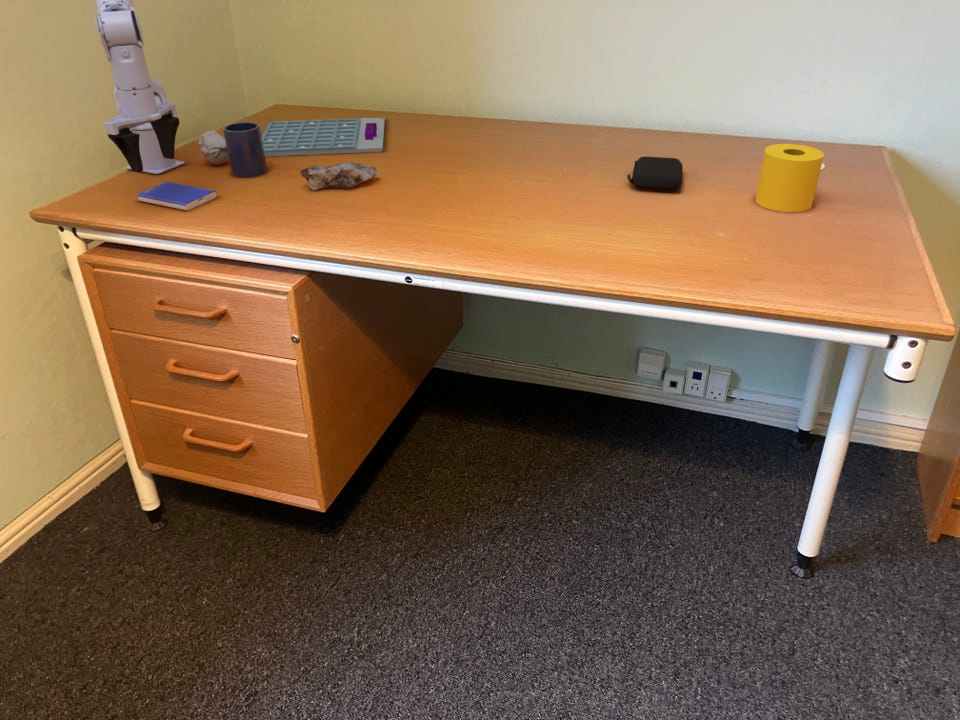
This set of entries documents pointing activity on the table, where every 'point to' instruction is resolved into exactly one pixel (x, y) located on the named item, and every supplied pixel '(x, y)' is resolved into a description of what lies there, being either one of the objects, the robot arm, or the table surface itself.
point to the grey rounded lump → (213, 147)
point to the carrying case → (657, 174)
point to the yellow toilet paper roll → (789, 177)
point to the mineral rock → (338, 175)
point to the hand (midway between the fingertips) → (153, 164)
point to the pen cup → (245, 149)
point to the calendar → (323, 136)
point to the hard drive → (177, 195)
